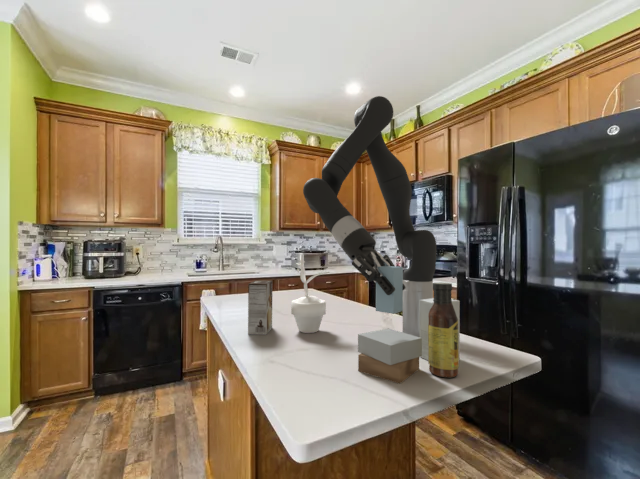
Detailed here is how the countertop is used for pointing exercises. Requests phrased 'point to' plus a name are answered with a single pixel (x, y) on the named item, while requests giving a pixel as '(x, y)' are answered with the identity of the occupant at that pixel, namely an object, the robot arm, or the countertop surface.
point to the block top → (390, 346)
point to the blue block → (394, 300)
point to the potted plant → (308, 307)
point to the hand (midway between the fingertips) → (397, 291)
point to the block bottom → (388, 368)
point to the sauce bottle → (443, 333)
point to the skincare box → (424, 321)
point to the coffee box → (259, 307)
